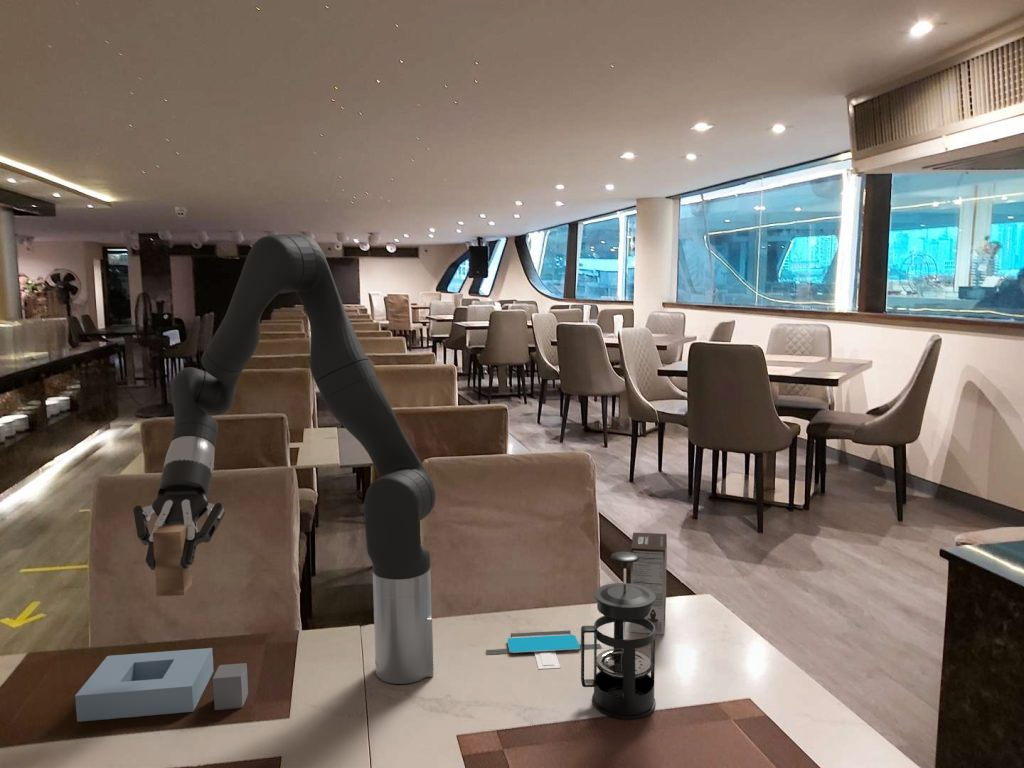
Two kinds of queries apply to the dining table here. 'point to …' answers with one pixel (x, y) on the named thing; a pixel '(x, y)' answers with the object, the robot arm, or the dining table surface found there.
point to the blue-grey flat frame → (145, 684)
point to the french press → (622, 649)
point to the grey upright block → (230, 686)
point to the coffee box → (651, 576)
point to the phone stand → (542, 646)
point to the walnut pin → (170, 560)
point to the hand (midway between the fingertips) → (168, 566)
